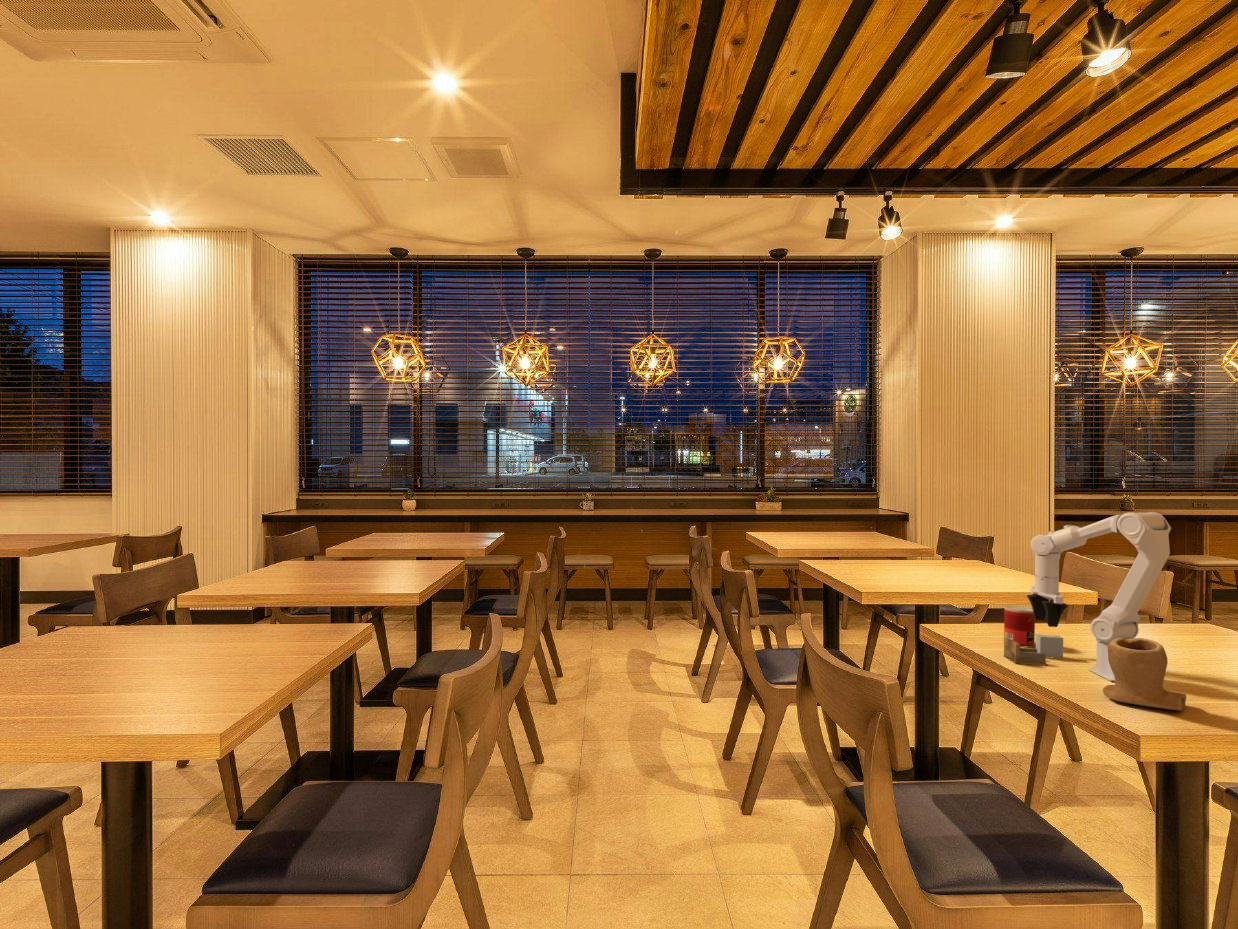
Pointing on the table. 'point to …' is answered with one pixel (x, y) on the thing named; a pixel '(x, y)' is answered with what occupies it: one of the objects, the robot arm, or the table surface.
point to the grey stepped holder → (1022, 653)
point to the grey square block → (1050, 645)
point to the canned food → (1019, 625)
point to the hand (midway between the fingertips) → (1046, 623)
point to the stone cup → (1140, 674)
